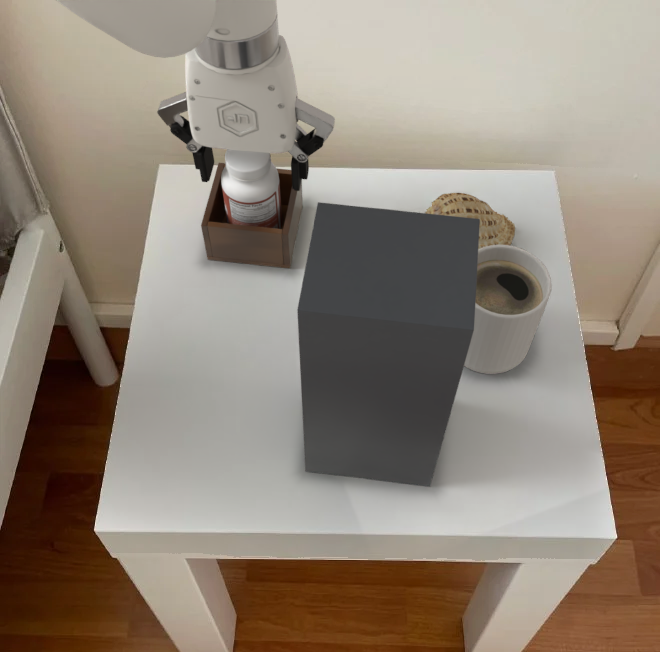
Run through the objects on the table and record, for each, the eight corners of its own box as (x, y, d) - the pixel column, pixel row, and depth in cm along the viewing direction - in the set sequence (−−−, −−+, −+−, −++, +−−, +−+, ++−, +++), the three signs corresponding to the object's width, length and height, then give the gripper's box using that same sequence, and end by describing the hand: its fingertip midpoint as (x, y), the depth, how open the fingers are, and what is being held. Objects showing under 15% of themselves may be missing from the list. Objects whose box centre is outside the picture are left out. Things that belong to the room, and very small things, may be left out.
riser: (305, 471, 77) (297, 310, 55) (319, 383, 82) (317, 201, 60) (430, 487, 76) (474, 330, 54) (437, 397, 81) (480, 218, 59)
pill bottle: (240, 202, 94) (231, 127, 84) (290, 215, 93) (286, 141, 83) (220, 241, 91) (207, 167, 81) (271, 255, 90) (264, 182, 80)
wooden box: (207, 259, 90) (200, 225, 85) (223, 198, 95) (218, 162, 90) (290, 268, 90) (288, 234, 85) (302, 206, 94) (301, 170, 89)
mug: (543, 360, 84) (569, 302, 75) (460, 387, 82) (476, 330, 73) (497, 282, 89) (516, 219, 80) (418, 306, 87) (428, 244, 78)
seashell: (478, 225, 97) (408, 212, 92) (507, 189, 92) (436, 173, 88) (499, 274, 93) (428, 264, 88) (530, 239, 89) (457, 226, 84)
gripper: (127, 52, 69) (164, 195, 84) (328, 69, 68) (329, 211, 83) (149, -2, 73) (181, 144, 87) (339, 13, 71) (338, 158, 86)
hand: (253, 176), depth 85 cm, fingers open, 9 cm apart
